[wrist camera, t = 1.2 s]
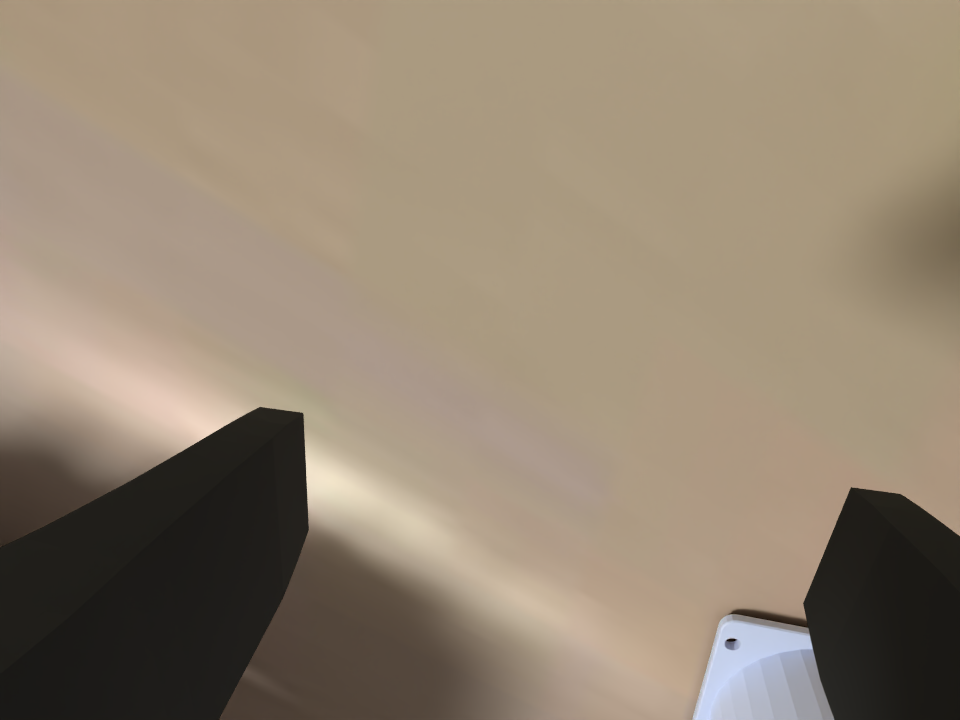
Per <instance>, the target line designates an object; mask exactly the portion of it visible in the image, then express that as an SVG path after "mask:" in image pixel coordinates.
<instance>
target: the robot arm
mask: <svg viewBox="0 0 960 720" xmlns="http://www.w3.org/2000/svg"><path fill="white" fill-rule="evenodd" d="M308 531H309V526H308V504H307V483H306V461H305V440H304V418H303V413H300V412H292V411H285V410H278V409H270V408H263V407H259V408H257V409H255V410H253V411H251V412H249V413H247V414H246V415H244V416H242V417H240V418H238V419H237V420H235V421H233V422H231V423H230V424H228V425H226V426H224V427H223V428H221V429H219V430H217V431H216V432H214V433H212V434H211V435H209V436H207V437H206V438H204V439H202V440H201V441H199V442H197V443H195V444H194V445H192V446H190V447H189V448H187V449H185V450H184V451H182V452H180V453H178V454H177V455H175V456H173V457H171V458H170V459H168V460H166V461H164V462H163V463H161V464H159V465H158V466H156V467H154V468H152V469H151V470H149V471H147V472H145V473H144V474H142V475H140V476H139V477H137V478H135V479H133V480H132V481H130V482H128V483H126V484H124V485H122V486H121V487H119V488H117V489H115V490H113V491H111V492H109V493H107V494H105V495H103V496H102V497H100V498H98V499H96V500H94V501H92V502H90V503H88V504H86V505H84V506H83V507H81V508H79V509H77V510H75V511H73V512H71V513H69V514H67V515H65V516H64V517H62V518H60V519H58V520H56V521H54V522H52V523H50V524H48V525H46V526H45V527H43V528H40V529H38V530H36V531H34V532H32V533H30V534H28V535H26V536H24V537H22V538H20V539H18V540H16V541H13V542H11V543H9V544H7V545H5V546H3V547H1V548H0V720H219V718H220V716H221V714H222V712H223V710H224V708H225V706H226V705H227V703H228V701H229V699H230V697H231V695H232V693H233V691H234V690H235V688H236V686H237V684H238V682H239V680H240V678H241V677H242V675H243V673H244V671H245V669H246V667H247V665H248V663H249V662H250V660H251V658H252V656H253V654H254V652H255V650H256V648H257V647H258V645H259V643H260V641H261V639H262V637H263V635H264V633H265V631H266V629H267V627H268V626H269V624H270V622H271V620H272V618H273V616H274V614H275V612H276V610H277V608H278V606H279V604H280V602H281V600H282V599H283V597H284V594H285V592H286V589H287V587H288V584H289V581H290V579H291V576H292V574H293V571H294V569H295V566H296V563H297V561H298V558H299V555H300V553H301V550H302V547H303V544H304V542H305V539H306V536H307V533H308ZM803 604H804V609H805V614H806V619H807V624H808V628H806V627H801V626H795V625H790V624H785V623H780V622H774V621H769V620H764V619H759V618H753V617H748V616H743V615H738V614H730V615H727V616H725V617H723V618H722V619H721V621H720V623H719V626H718V629H717V633H716V637H715V640H714V644H713V647H712V651H711V654H710V658H709V662H708V665H707V669H706V672H705V676H704V680H703V683H702V687H701V690H700V694H699V697H698V701H697V705H696V708H695V712H694V715H693V719H692V720H960V536H959V535H957V534H956V533H955V532H953V531H952V530H951V529H949V528H948V527H947V526H945V525H944V524H943V523H941V522H940V521H939V520H937V519H936V518H935V517H933V516H932V515H930V514H929V513H928V512H926V511H925V510H924V509H922V508H921V507H919V506H918V505H916V504H915V503H913V502H912V501H910V500H909V499H907V498H906V497H904V496H903V495H901V494H896V493H888V492H881V491H874V490H866V489H859V488H852V487H851V489H850V491H849V494H848V496H847V498H846V501H845V503H844V506H843V508H842V511H841V513H840V515H839V518H838V520H837V523H836V525H835V528H834V530H833V533H832V535H831V537H830V540H829V542H828V545H827V547H826V550H825V552H824V554H823V557H822V559H821V562H820V564H819V567H818V569H817V571H816V574H815V576H814V579H813V581H812V584H811V586H810V588H809V591H808V593H807V596H806V598H805V601H804V603H803ZM729 638H735V639H737V640H736V641H734V642H728V641H726V640H727V639H729Z"/></svg>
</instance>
